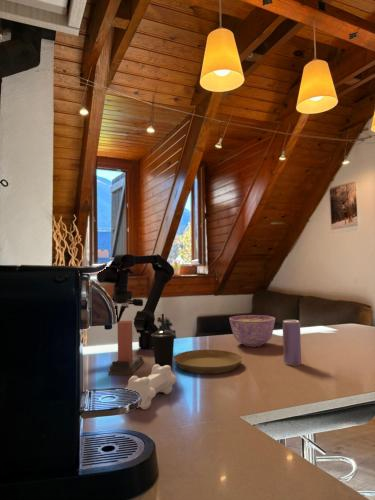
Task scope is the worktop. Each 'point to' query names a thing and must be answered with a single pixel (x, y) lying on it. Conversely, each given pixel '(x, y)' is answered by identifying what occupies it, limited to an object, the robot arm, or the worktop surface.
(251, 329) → the bowl of food
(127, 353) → the post
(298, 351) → the beverage can
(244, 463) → the worktop surface
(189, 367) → the plant saucer
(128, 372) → the press track
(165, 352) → the drinking cup
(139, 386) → the bone shaped toy
